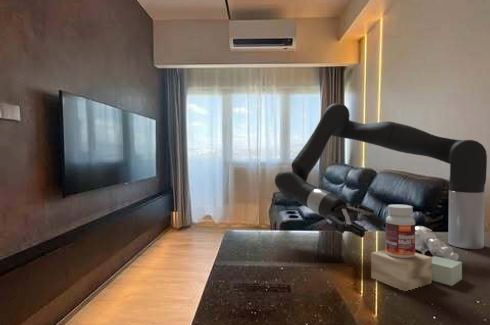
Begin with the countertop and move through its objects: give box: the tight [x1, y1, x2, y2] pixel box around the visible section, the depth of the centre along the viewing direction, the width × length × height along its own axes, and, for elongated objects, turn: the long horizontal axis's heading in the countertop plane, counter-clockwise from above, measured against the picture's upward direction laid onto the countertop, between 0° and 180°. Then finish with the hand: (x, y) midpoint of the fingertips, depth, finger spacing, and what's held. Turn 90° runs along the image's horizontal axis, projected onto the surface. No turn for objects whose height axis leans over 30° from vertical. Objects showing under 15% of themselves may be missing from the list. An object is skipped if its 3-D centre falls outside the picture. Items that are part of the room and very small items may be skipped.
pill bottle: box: [385, 204, 416, 258], centre depth 74 cm, size 6×6×11 cm
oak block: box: [370, 249, 433, 292], centre depth 74 cm, size 9×9×6 cm
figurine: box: [415, 225, 460, 261], centre depth 92 cm, size 11×7×15 cm
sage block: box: [431, 255, 463, 287], centre depth 75 cm, size 6×6×4 cm
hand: (373, 229), depth 85 cm, fingers open, 8 cm apart
